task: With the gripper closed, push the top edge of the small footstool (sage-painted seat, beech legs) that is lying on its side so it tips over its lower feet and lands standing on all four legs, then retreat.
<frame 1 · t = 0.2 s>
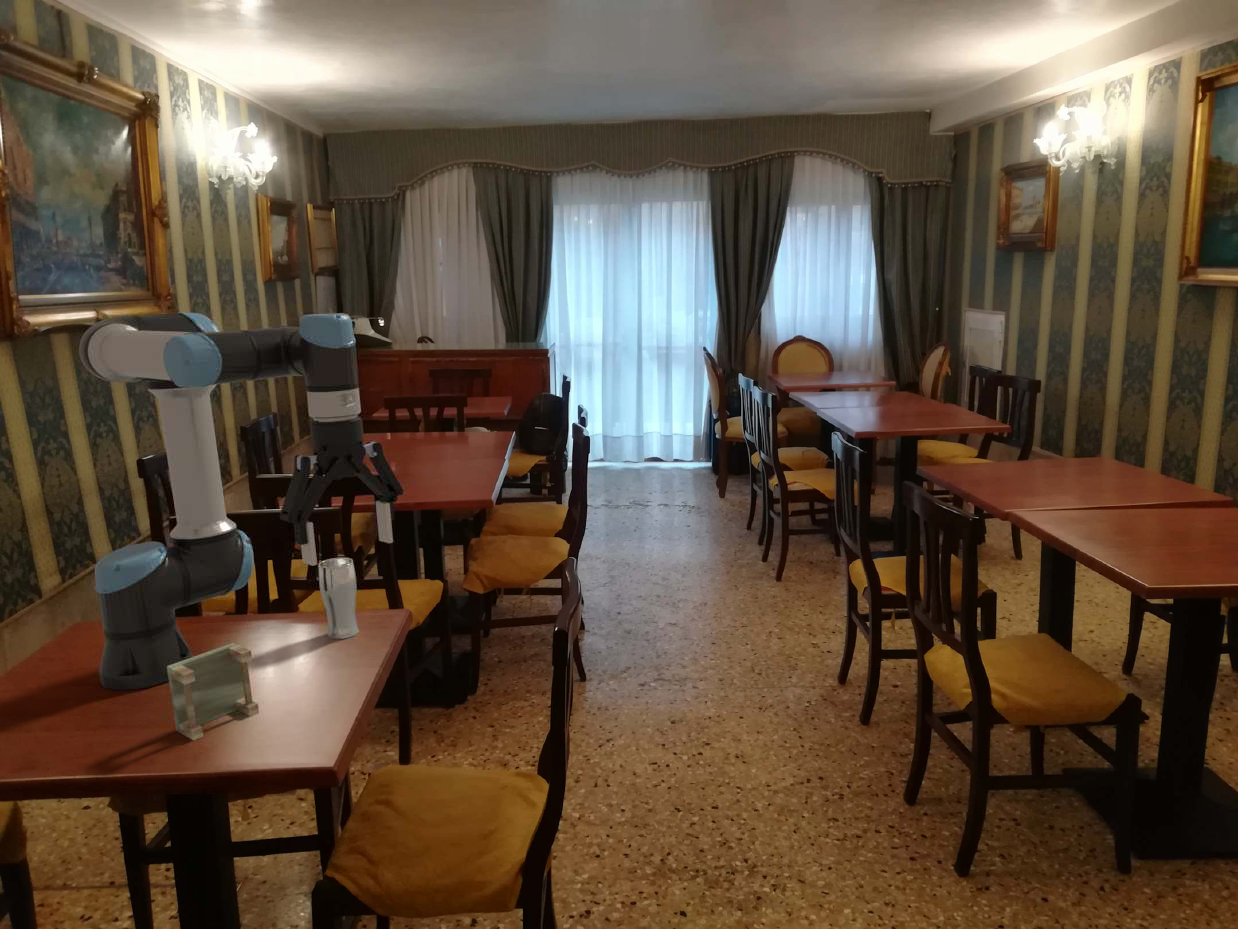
hand: (349, 552, 138), 28 cm above the table, fingers open, 13 cm apart
beer glass: (343, 634, 179), on the table
footstool: (210, 716, 146), on the table
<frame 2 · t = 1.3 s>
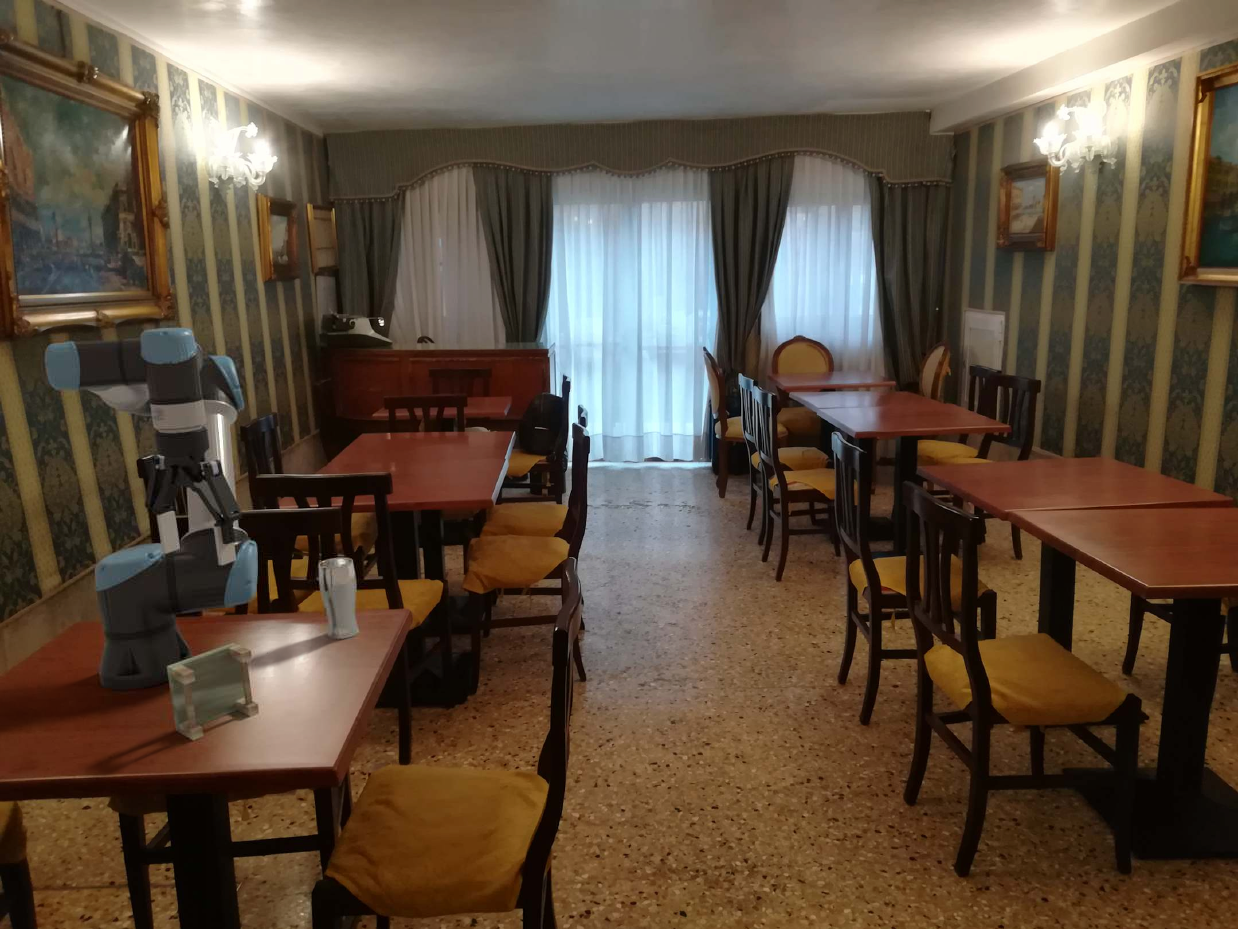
hand: (199, 556, 144), 26 cm above the table, fingers open, 13 cm apart
nothing on the table moved.
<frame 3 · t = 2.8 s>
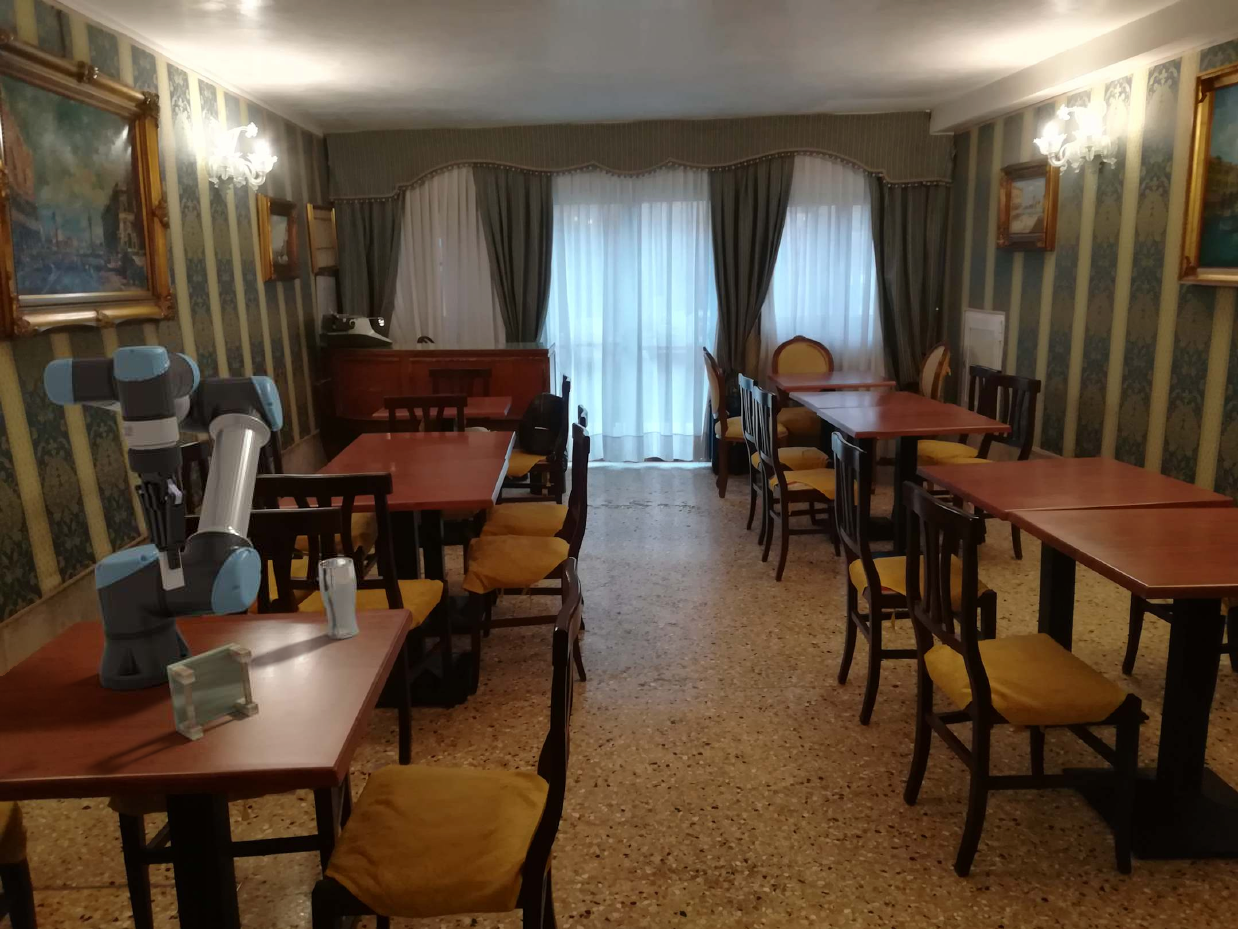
hand: (174, 586, 145), 21 cm above the table, fingers closed
nothing on the table moved.
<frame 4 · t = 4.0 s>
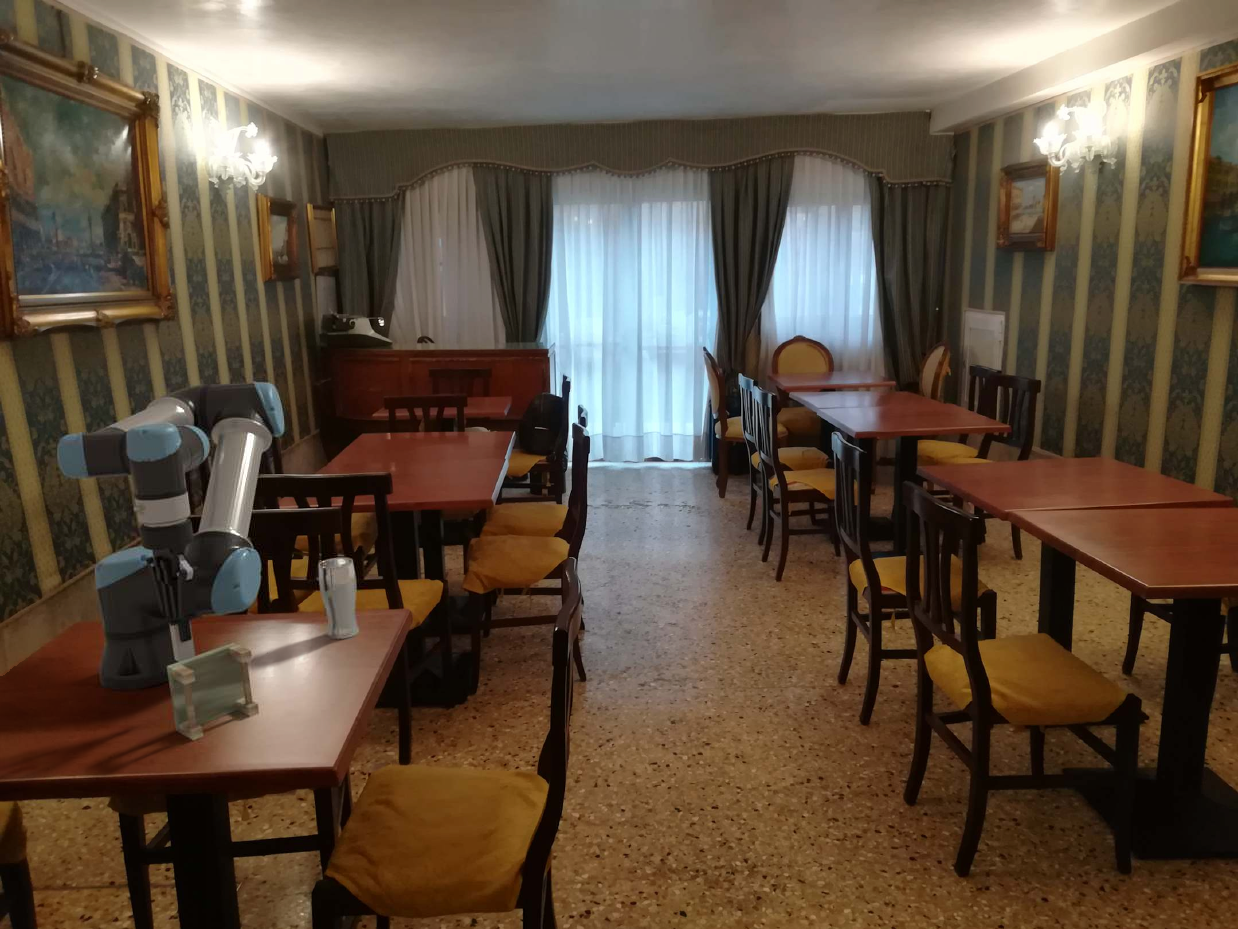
hand: (185, 657, 148), 9 cm above the table, fingers closed
nothing on the table moved.
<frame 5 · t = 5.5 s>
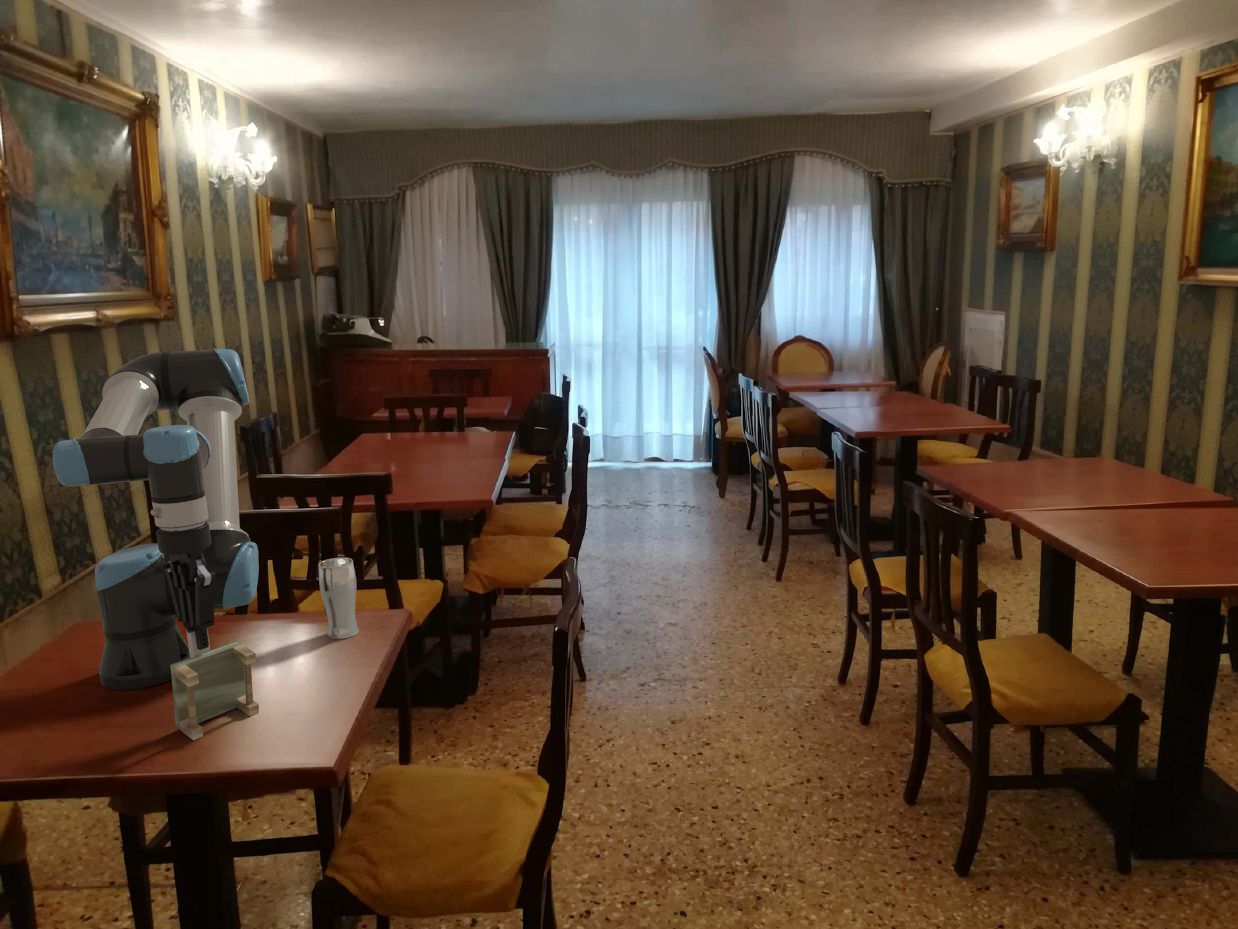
hand: (201, 665, 143), 9 cm above the table, fingers closed
footstool: (209, 713, 146), point 1 cm above the table, tilted 7°, touching gripper
everything else where it was.
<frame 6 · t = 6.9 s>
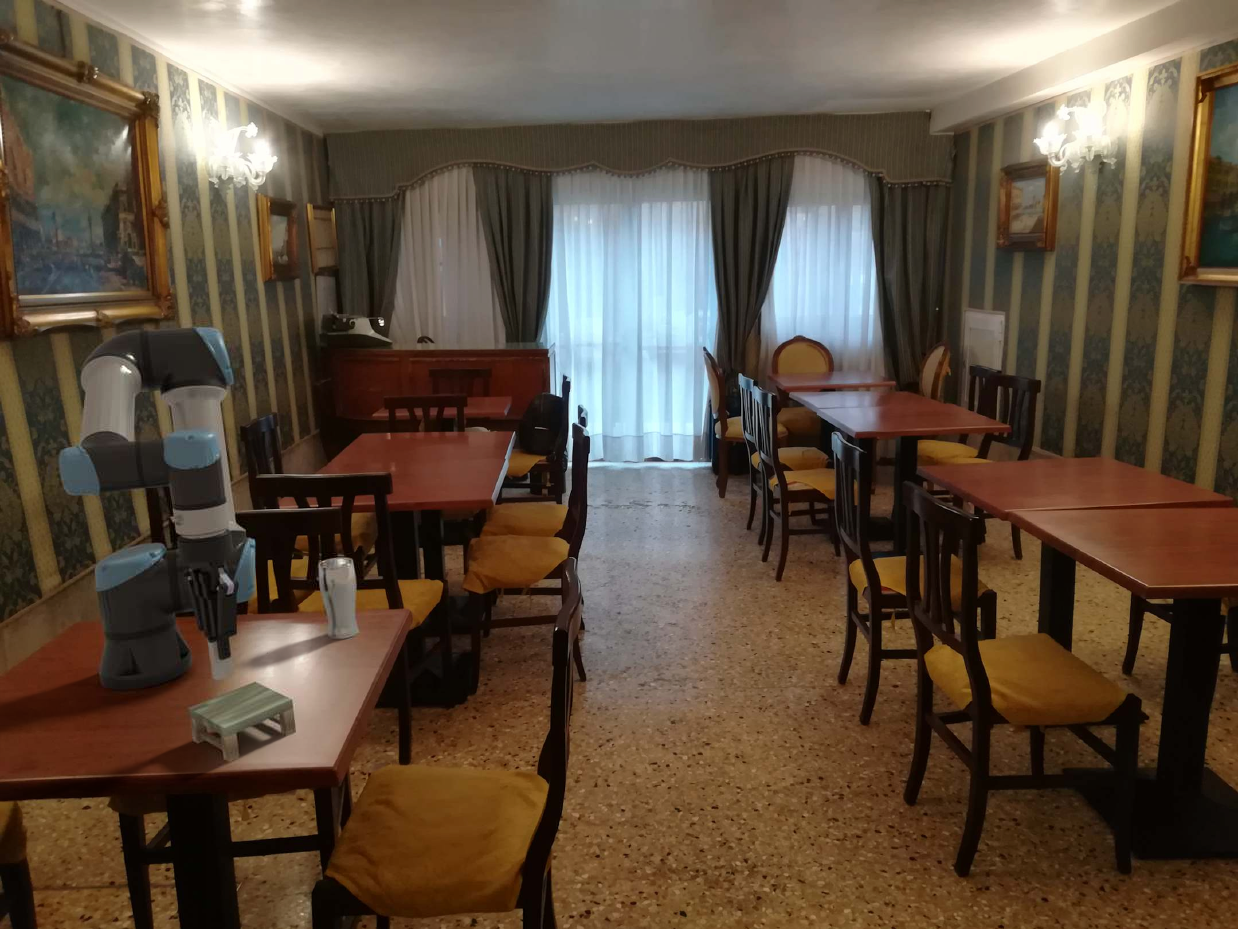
hand: (223, 676, 140), 9 cm above the table, fingers closed
footstool: (222, 694, 141), point 5 cm above the table, tilted 90°
everything else where it was.
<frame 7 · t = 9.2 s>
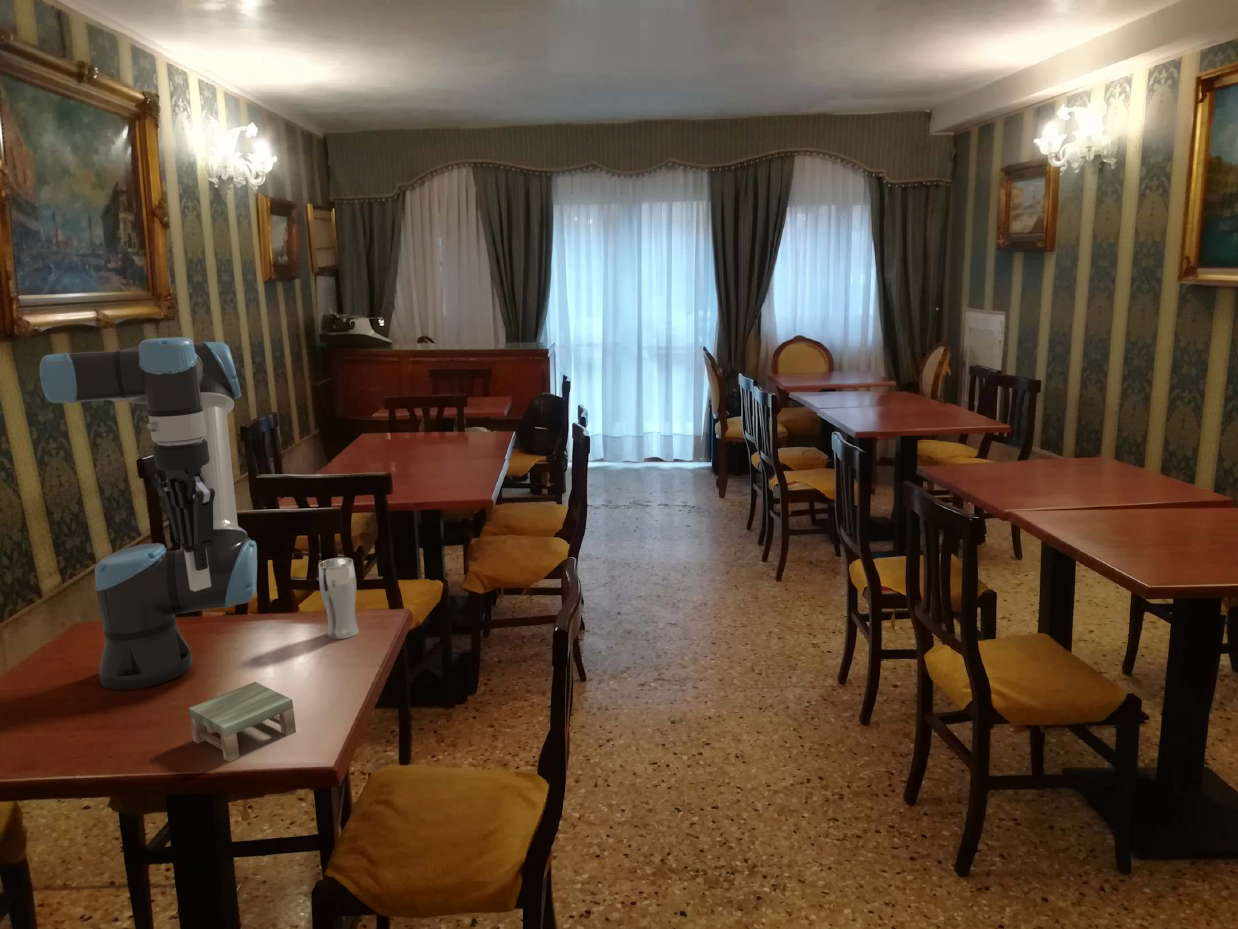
hand: (200, 587, 140), 23 cm above the table, fingers closed
nothing on the table moved.
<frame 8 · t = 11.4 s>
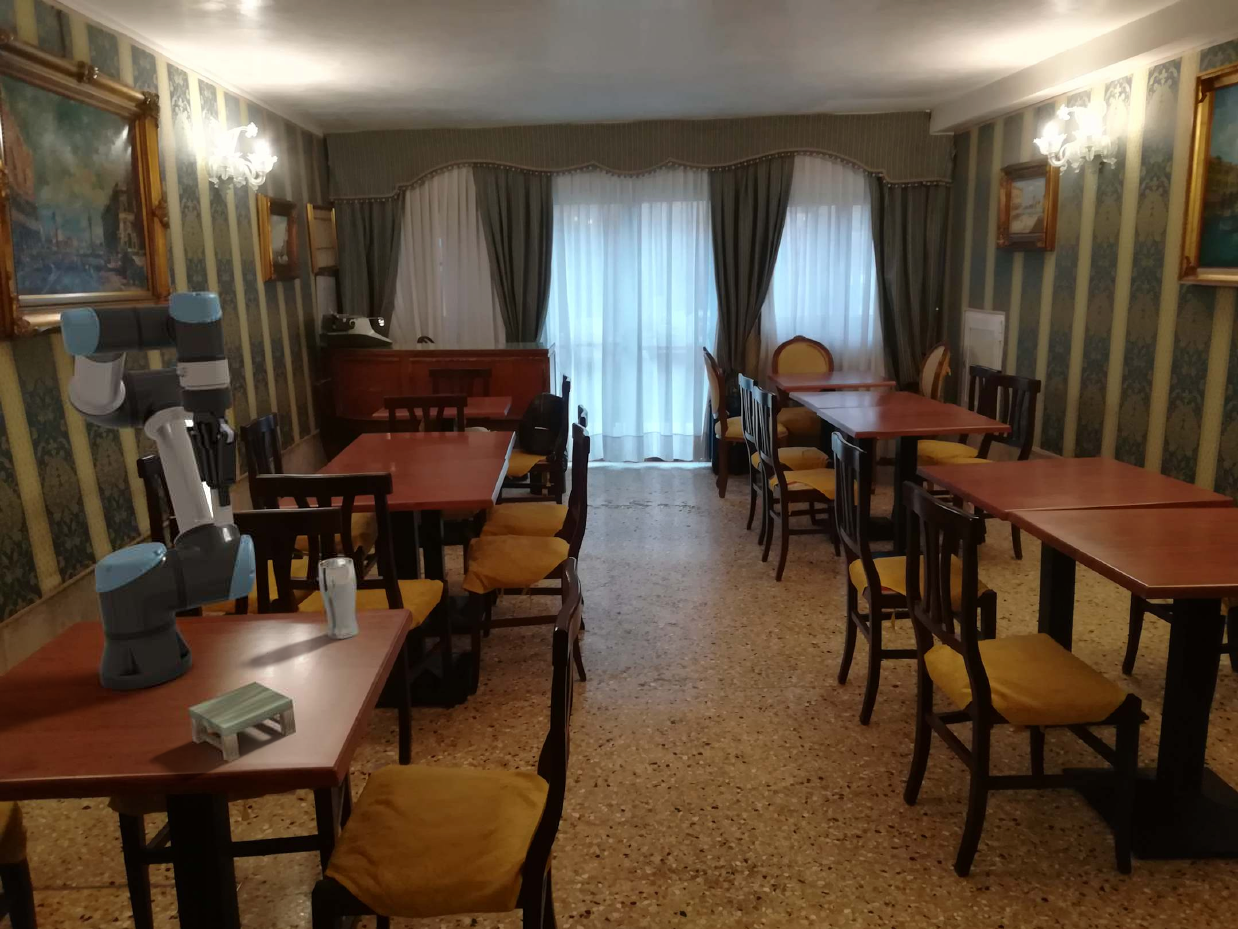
hand: (223, 523, 152), 29 cm above the table, fingers closed
nothing on the table moved.
at the end: footstool inside the target area (1.0 cm from its centre), point 5.5 cm above the table; footstool tilted 90°; the gripper is holding nothing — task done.
